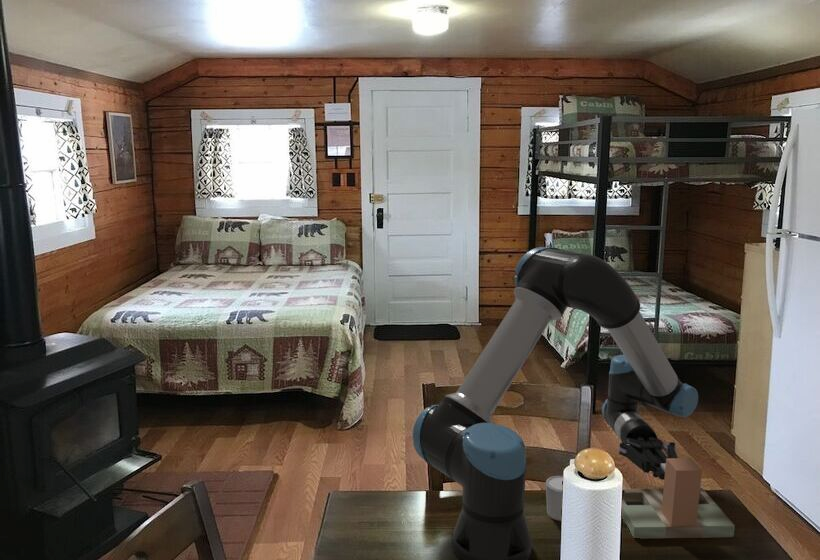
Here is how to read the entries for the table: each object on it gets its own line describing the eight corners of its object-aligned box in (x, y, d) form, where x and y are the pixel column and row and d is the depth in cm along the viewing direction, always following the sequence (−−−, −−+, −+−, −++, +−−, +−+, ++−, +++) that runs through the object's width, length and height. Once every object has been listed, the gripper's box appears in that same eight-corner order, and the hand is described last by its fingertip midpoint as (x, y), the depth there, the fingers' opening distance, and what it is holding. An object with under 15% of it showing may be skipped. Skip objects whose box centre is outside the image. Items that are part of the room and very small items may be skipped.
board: (610, 499, 148) (611, 489, 148) (701, 498, 149) (702, 487, 148) (633, 538, 134) (634, 527, 134) (733, 537, 135) (734, 525, 134)
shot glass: (578, 524, 139) (580, 493, 138) (544, 520, 140) (545, 489, 139) (576, 506, 146) (578, 476, 144) (544, 503, 147) (545, 473, 146)
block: (661, 512, 139) (666, 458, 136) (685, 511, 139) (690, 458, 136) (671, 526, 134) (676, 470, 131) (696, 525, 134) (701, 470, 132)
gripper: (661, 448, 162) (706, 501, 139) (607, 448, 162) (642, 502, 139) (664, 418, 160) (709, 467, 137) (609, 419, 160) (645, 468, 137)
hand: (676, 484), depth 138 cm, fingers closed
